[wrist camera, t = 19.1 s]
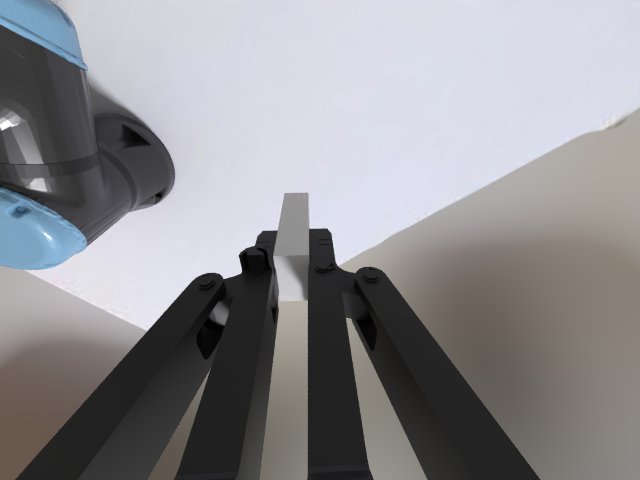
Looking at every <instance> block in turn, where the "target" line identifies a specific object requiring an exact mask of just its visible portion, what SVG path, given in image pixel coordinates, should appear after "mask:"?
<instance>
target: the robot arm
mask: <svg viewBox="0 0 640 480" xmlns="http://www.w3.org/2000/svg"><path fill="white" fill-rule="evenodd" d="M86 71H88V68H87V66H86V64H85V63H84V62H83V58H82V53H81V49H80V45H79V41H78V36H77V32H76V29H75V26H74V24H73V22H72V21H71V19H70V18H69V16H68V15H67V14H66V13H65V12H64V11H63V10H62V9H61V8H60V7H58V6H57V5H56V4H54V3H53V2H51V1H50V0H0V266H5V267H10V268H15V269H23V270H40V269H47V268H51V267H55V266H57V265H59V264H61V263H63V262H65V261H66V260H67V259H69V258H70V257H72V256H73V255H75V254H77V253H79V252H82V251H83V250H84V249H85V248H86V247H87V246H88V245H89V244H91V243H92V242H93V241H94V240H95V239H97V238H98V237H99V236H100V235H101V234H103V233H104V232H105V231H106V230H108V229H109V228H110V227H111V226H112V225H114V224H115V223H116V222H117V221H118V220H120V219H121V218H122V217H123V216H124V215H126V214H127V213H128V212H131V211H136V210H140V209H144V208H148V207H151V206H153V205H156V204H157V203H159V202H160V201H162V200H163V199H164V198H165V197H166V196H167V195H168V194H169V193H170V191H171V190H172V188H173V185H174V181H175V170H174V165H173V162H172V159H171V157H170V155H169V153H168V151H167V149H166V148H165V147H164V145H163V144H162V143H161V141H160V140H159V139H158V138H157V137H156V136H155V135H154V134H153V133H152V132H151V131H149V130H148V129H147V128H145V127H144V126H142V125H141V124H139V123H137V122H135V121H133V120H131V119H129V118H126V117H123V116H119V115H114V114H100V115H95V116H94V115H93V109H92V103H91V98H90V92H89V86H88V80H87V75H86ZM239 258H240V263H241V267H242V273H241V274H239V275H237V276H234V277H230V278H226V279H223V277H222V276H221V275H220V274H217V273H207V274H203V275H201V276H199V277H197V278H195V279H194V280H193V281H192V282H191V283H190V284H189V285H188V286H187V288H186V289H185V290H184V291H183V292H182V293H181V294H180V295H179V297H178V298H177V299H176V300H175V301H174V302H173V303H172V304H171V306H170V307H169V308H168V309H167V310H166V311H165V312H164V313H163V315H162V316H161V317H160V318H159V319H158V320H157V321H156V322H155V323H154V325H153V326H152V327H151V328H150V329H149V330H148V331H147V333H146V334H145V335H144V336H143V337H142V338H141V339H140V340H139V341H138V343H137V344H136V345H135V346H134V347H133V348H132V349H131V350H130V352H129V353H128V354H127V355H126V356H125V357H124V358H123V359H122V361H121V362H120V363H119V364H118V365H117V366H116V367H115V368H114V369H113V371H112V372H111V373H110V374H109V375H108V376H107V377H106V378H105V380H104V381H103V382H102V383H101V384H100V385H99V386H98V387H97V389H96V390H95V391H94V392H93V393H92V394H91V395H90V397H89V398H88V399H87V400H86V401H85V402H84V403H83V404H82V405H81V407H80V408H79V409H78V410H77V411H76V412H75V413H74V414H73V415H72V417H71V418H70V419H69V420H68V421H67V422H66V423H65V425H64V426H63V427H62V428H61V429H60V430H59V431H58V433H56V435H55V436H54V437H53V438H52V439H51V440H50V441H49V442H48V444H47V445H46V446H45V447H44V448H43V449H42V450H41V451H40V452H39V454H38V455H37V456H36V457H35V458H34V459H33V460H32V461H31V463H30V464H29V465H28V466H27V467H26V468H25V469H24V471H23V472H22V473H21V474H20V475H19V476H18V477H17V478H16V479H15V480H147V479H148V477H149V475H150V474H151V472H152V470H153V469H154V467H155V465H156V463H157V462H158V460H159V458H160V456H161V455H162V453H163V451H164V449H165V448H166V446H167V444H168V442H169V441H170V439H171V437H172V435H173V433H174V432H175V430H176V428H177V426H178V425H179V423H180V421H181V419H182V418H183V416H184V414H185V412H186V411H187V409H188V407H189V405H190V403H191V402H192V400H193V398H194V396H195V395H196V393H197V391H198V390H199V388H200V386H201V384H202V383H203V381H204V379H205V377H206V375H207V374H208V372H209V370H210V368H211V370H210V373H209V376H208V379H207V382H206V385H205V389H204V392H203V395H202V398H201V401H200V404H199V407H198V410H197V413H196V417H195V420H194V423H193V426H192V429H191V432H190V435H189V438H188V441H187V445H186V448H185V451H184V454H183V457H182V460H181V463H180V467H179V469H178V472H177V474H176V477H175V478H174V480H259V478H260V469H261V459H262V452H263V443H264V434H265V426H266V417H267V408H268V400H269V391H270V382H271V373H272V364H273V356H274V347H275V339H276V330H277V321H278V312H279V309H278V296H279V301H299V300H308V478H307V480H373V476H372V474H371V472H370V469H369V465H368V460H367V454H366V447H365V441H364V434H363V428H362V421H361V414H360V408H359V401H358V396H357V388H356V382H355V376H354V369H353V362H352V356H351V349H350V343H349V336H348V330H347V323H346V318H351V319H352V322H353V324H354V326H355V329H356V331H357V333H358V335H359V337H360V339H361V341H362V343H363V345H364V347H365V349H366V351H367V354H368V356H369V358H370V360H371V362H372V364H373V366H374V368H375V370H376V373H377V374H378V377H379V379H380V381H381V383H382V385H383V387H384V389H385V391H386V393H387V395H388V398H389V400H390V402H391V404H392V406H393V408H394V410H395V412H396V414H397V416H398V418H399V421H400V423H401V425H402V427H403V429H404V431H405V433H406V435H407V437H408V439H409V442H410V444H411V446H412V448H413V450H414V452H415V454H416V456H417V458H418V460H419V463H420V465H421V466H422V469H423V471H424V473H425V475H426V477H427V479H428V480H540V479H539V477H538V476H537V475H536V473H535V472H534V471H533V469H532V468H531V467H530V465H529V464H528V463H527V462H526V460H525V459H524V457H523V456H522V455H521V453H520V452H519V451H518V449H517V448H516V447H515V445H514V444H513V443H512V441H511V440H510V439H509V438H508V436H507V435H506V433H505V432H504V431H503V429H502V428H501V427H500V426H499V424H498V423H497V421H496V420H495V419H494V418H493V416H492V415H491V414H490V412H489V411H488V410H487V408H486V407H485V406H484V404H483V403H482V402H481V400H480V399H479V398H478V396H477V395H476V394H475V392H474V391H473V390H472V388H471V387H470V386H469V384H468V383H467V382H466V380H465V379H464V378H463V376H462V375H461V374H460V373H459V371H458V370H457V368H456V367H455V366H454V364H453V363H452V362H451V360H450V359H449V358H448V356H447V355H446V354H445V353H444V351H443V350H442V349H441V347H440V346H439V345H438V343H437V342H436V341H435V339H434V338H433V337H432V335H431V334H430V333H429V332H428V330H427V329H426V327H425V326H424V325H423V323H422V322H421V321H420V319H419V318H418V317H417V315H416V314H415V313H414V311H413V310H412V309H411V308H410V306H409V305H408V303H407V302H406V301H405V299H404V298H403V297H402V295H401V294H400V293H399V291H398V290H397V289H396V288H395V286H394V285H393V284H392V282H391V281H390V280H389V278H388V277H387V276H386V274H385V273H384V272H383V271H381V270H379V269H377V268H374V267H363V268H361V269H359V270H358V271H357V272H356V273H351V272H347V271H344V270H342V269H341V268H339V267H338V266H337V264H336V262H335V255H334V249H333V242H332V235H331V233H330V232H329V230H328V229H310V227H309V200H308V193H285V194H284V200H283V205H282V211H281V216H280V222H279V227H278V231H263V232H262V233H261V234H259V235H258V237H257V240H256V244H255V246H253V247H249V248H246V249H245V250H243V251H242V252H241V253H240V254H239Z"/></svg>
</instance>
